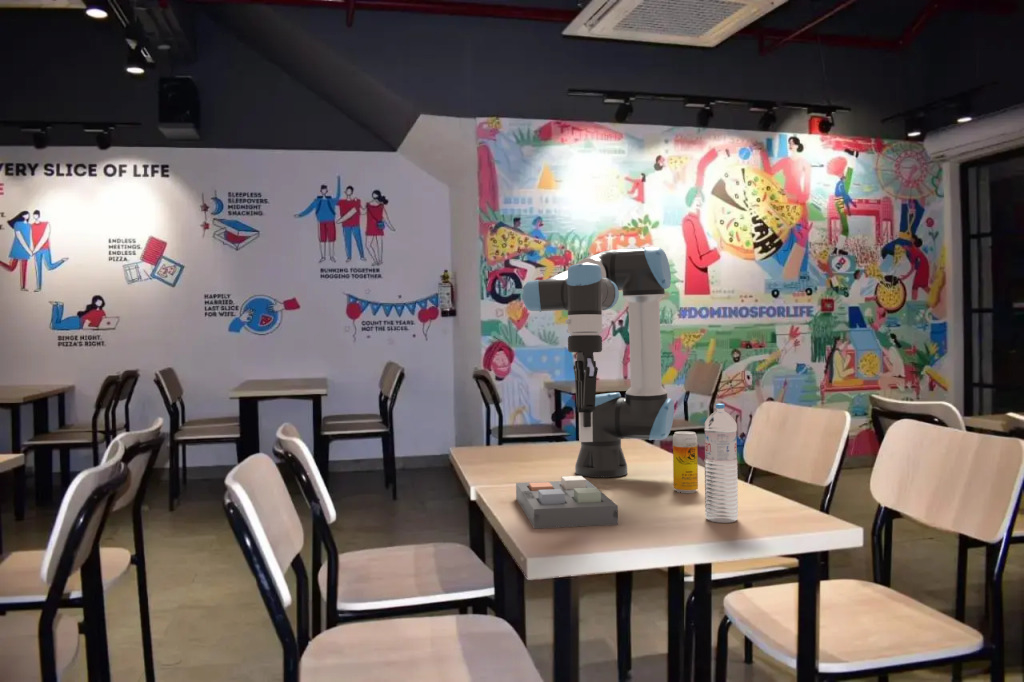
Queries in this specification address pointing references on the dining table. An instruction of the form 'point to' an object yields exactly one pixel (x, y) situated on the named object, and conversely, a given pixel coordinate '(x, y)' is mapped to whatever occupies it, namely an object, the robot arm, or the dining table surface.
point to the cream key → (573, 482)
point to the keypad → (565, 509)
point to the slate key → (551, 496)
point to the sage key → (587, 495)
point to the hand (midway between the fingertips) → (585, 441)
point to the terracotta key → (540, 486)
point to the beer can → (685, 462)
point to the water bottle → (721, 467)
